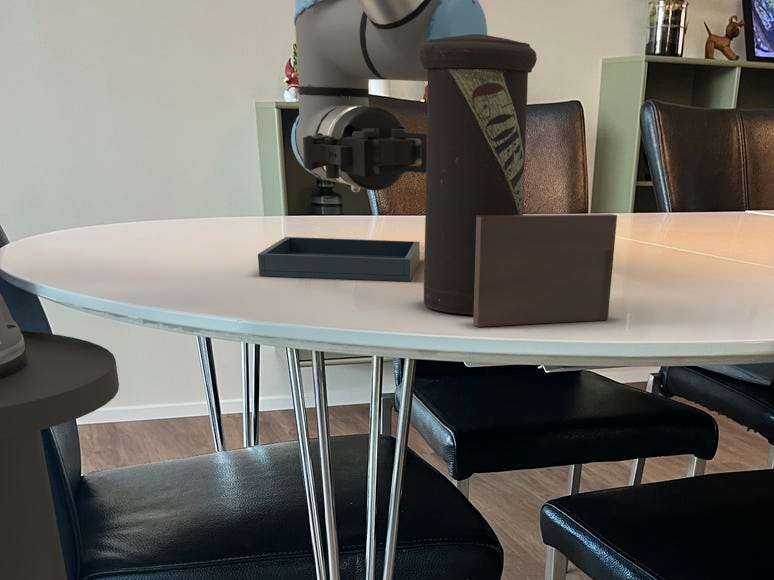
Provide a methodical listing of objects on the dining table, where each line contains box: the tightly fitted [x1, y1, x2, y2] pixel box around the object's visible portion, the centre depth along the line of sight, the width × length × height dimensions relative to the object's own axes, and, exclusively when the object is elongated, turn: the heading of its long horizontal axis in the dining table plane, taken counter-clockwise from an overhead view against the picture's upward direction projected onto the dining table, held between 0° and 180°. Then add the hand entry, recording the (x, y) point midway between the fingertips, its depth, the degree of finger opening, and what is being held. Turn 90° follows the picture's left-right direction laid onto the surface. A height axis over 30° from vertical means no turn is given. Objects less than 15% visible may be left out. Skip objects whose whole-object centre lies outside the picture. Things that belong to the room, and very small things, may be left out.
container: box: [419, 34, 538, 316], centre depth 80 cm, size 9×9×20 cm
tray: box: [257, 236, 421, 282], centre depth 103 cm, size 15×15×2 cm
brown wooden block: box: [472, 213, 618, 328], centre depth 84 cm, size 15×12×8 cm
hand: (444, 159), depth 85 cm, fingers open, 13 cm apart
